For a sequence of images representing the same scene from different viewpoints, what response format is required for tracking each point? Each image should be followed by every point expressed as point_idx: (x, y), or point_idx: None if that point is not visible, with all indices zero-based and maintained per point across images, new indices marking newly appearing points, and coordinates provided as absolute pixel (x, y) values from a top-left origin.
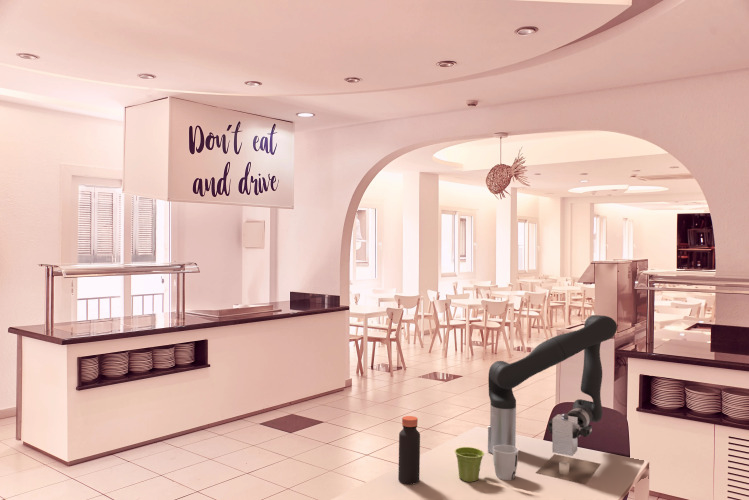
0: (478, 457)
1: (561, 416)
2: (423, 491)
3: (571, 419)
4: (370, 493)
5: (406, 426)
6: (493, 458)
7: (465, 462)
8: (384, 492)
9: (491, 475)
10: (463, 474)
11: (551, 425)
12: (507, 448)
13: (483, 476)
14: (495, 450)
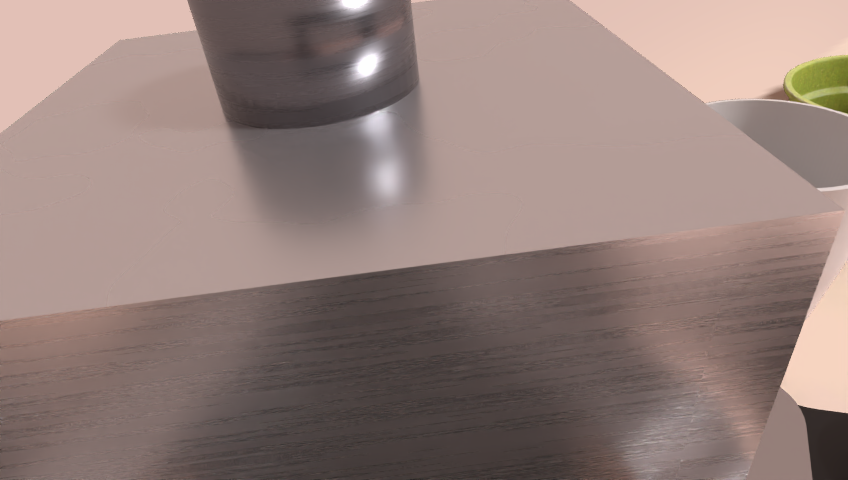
0: (783, 85)
1: (484, 114)
2: (783, 99)
3: (123, 98)
4: (843, 42)
5: None
6: (800, 174)
7: (822, 98)
8: (833, 55)
9: (835, 321)
10: None
11: (823, 421)
12: (845, 207)
13: (839, 284)
14: (775, 100)
